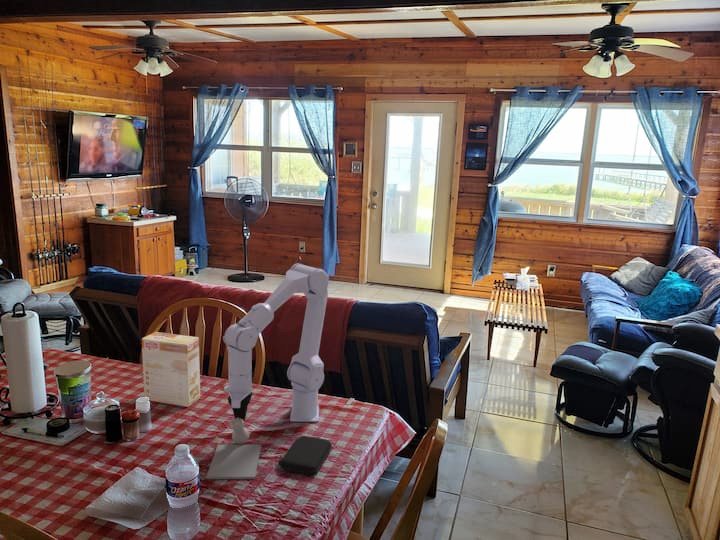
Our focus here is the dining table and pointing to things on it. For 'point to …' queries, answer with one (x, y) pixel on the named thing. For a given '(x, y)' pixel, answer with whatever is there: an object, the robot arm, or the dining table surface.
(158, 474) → the dining table surface
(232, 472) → the slate mat
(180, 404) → the coffeecake box
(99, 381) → the dining table surface
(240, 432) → the rook chess piece
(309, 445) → the carrying case or bag
